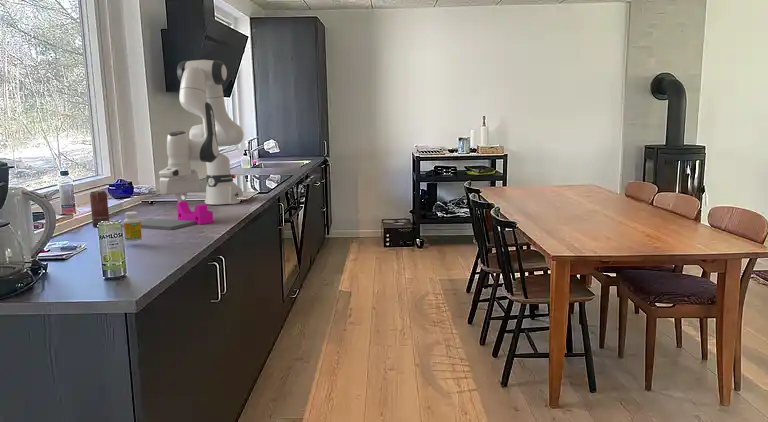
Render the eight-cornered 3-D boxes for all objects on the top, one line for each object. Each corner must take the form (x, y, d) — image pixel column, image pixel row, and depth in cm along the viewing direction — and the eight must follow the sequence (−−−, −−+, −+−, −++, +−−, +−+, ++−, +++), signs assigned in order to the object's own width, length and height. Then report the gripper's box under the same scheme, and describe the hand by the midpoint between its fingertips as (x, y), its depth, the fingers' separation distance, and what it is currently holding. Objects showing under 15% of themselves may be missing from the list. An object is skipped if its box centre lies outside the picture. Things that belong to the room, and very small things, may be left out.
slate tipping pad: (150, 221, 242) (150, 218, 241) (195, 224, 232) (195, 221, 232) (123, 226, 229) (123, 223, 229) (170, 229, 220) (170, 226, 219)
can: (92, 228, 227) (89, 192, 225) (92, 225, 232) (89, 191, 230) (109, 226, 229) (106, 191, 227) (109, 224, 235) (106, 190, 233)
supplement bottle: (131, 242, 197) (129, 214, 196) (121, 240, 200) (119, 213, 198) (145, 239, 201) (143, 212, 200) (135, 238, 204) (133, 211, 203)
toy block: (213, 222, 236) (212, 204, 234) (200, 224, 231) (199, 206, 229) (190, 217, 244) (189, 200, 243) (177, 220, 239) (176, 202, 238)
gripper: (191, 168, 250) (193, 200, 252) (155, 172, 231) (158, 206, 234) (202, 169, 248) (204, 200, 250) (167, 172, 229) (170, 207, 231)
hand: (181, 203), depth 241 cm, fingers closed
